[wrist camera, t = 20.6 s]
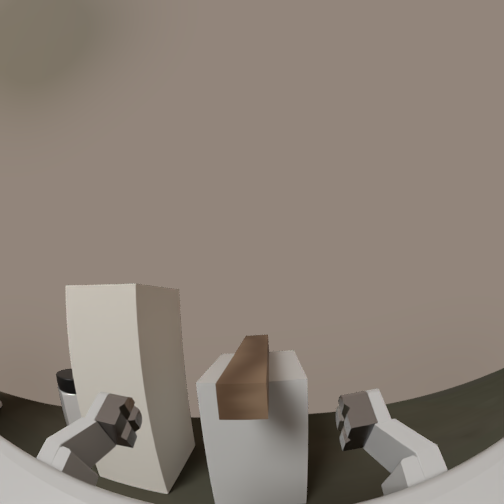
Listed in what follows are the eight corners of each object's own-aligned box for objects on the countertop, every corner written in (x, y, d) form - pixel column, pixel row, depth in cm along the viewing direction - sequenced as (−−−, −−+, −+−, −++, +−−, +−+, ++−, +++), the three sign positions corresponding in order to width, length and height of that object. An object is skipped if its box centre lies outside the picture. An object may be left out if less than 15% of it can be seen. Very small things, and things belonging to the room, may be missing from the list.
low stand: (215, 505, 20) (196, 382, 22) (231, 450, 33) (221, 354, 36) (306, 503, 19) (307, 378, 22) (296, 448, 33) (293, 350, 36)
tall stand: (100, 476, 21) (65, 285, 26) (140, 438, 35) (121, 291, 40) (167, 494, 21) (135, 283, 25) (195, 445, 35) (179, 289, 39)
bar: (219, 419, 14) (215, 383, 15) (247, 353, 36) (246, 335, 36) (268, 419, 14) (266, 382, 15) (268, 352, 36) (267, 334, 36)
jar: (92, 450, 28) (75, 383, 30) (60, 435, 29) (45, 373, 31) (121, 431, 36) (110, 372, 38) (90, 421, 38) (79, 365, 40)
